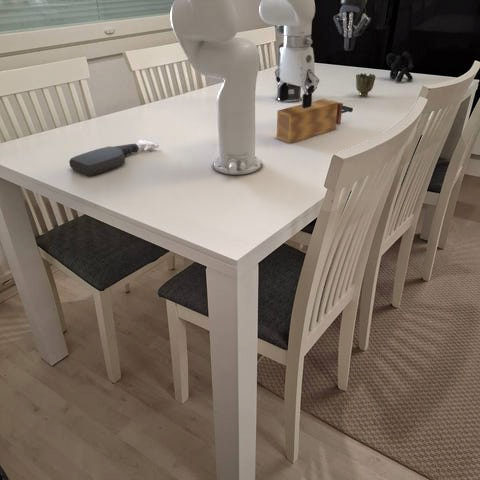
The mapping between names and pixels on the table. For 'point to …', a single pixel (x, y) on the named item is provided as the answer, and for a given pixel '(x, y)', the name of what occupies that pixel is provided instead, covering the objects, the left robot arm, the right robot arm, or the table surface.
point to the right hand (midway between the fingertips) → (348, 50)
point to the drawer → (339, 111)
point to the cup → (364, 83)
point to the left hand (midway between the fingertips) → (295, 103)
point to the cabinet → (306, 120)
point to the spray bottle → (106, 157)
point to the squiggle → (399, 66)
